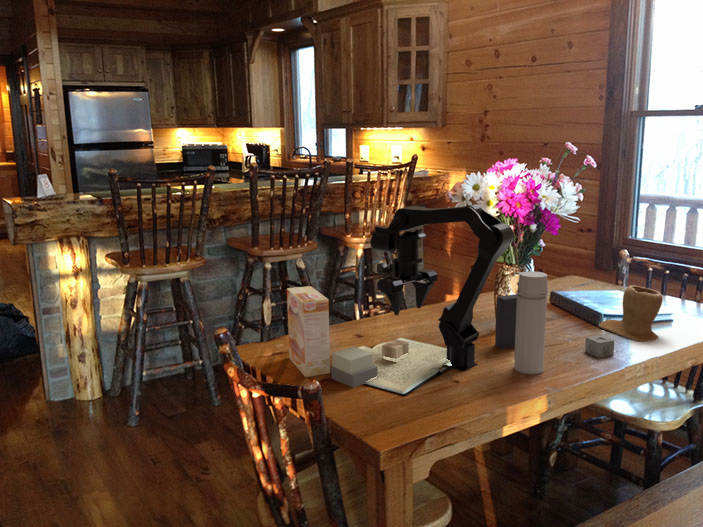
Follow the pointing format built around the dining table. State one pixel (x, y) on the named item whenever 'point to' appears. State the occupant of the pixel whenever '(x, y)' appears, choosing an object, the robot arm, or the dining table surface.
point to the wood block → (395, 349)
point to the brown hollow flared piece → (636, 314)
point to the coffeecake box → (308, 330)
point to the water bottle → (530, 322)
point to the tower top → (352, 360)
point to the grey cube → (599, 346)
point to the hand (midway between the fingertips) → (407, 311)
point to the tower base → (353, 376)
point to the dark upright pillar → (506, 321)
